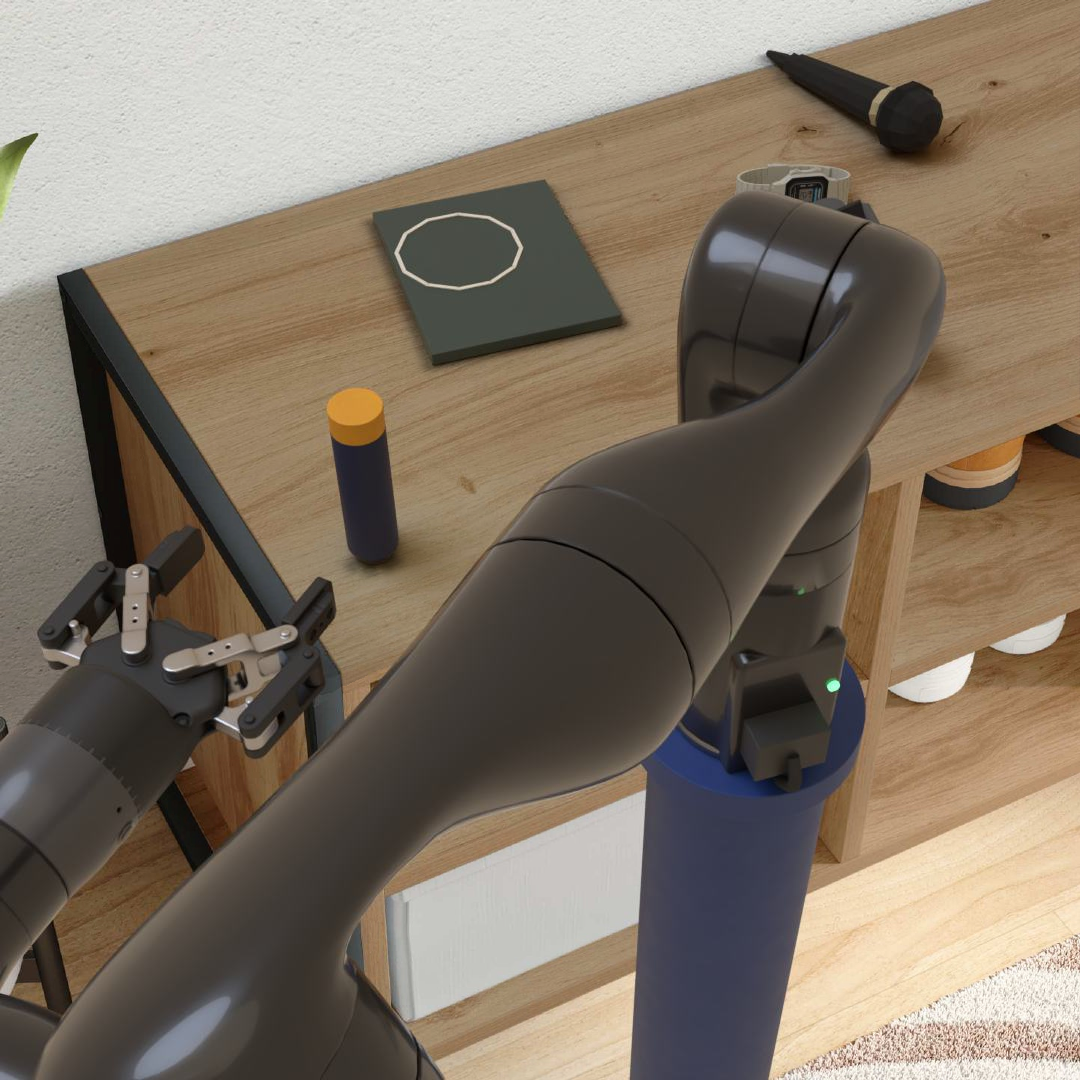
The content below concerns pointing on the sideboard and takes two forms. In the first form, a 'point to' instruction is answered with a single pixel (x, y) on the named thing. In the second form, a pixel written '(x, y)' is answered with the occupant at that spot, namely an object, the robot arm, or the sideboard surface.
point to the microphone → (871, 100)
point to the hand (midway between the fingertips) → (261, 562)
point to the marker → (363, 473)
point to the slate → (493, 271)
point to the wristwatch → (798, 181)
